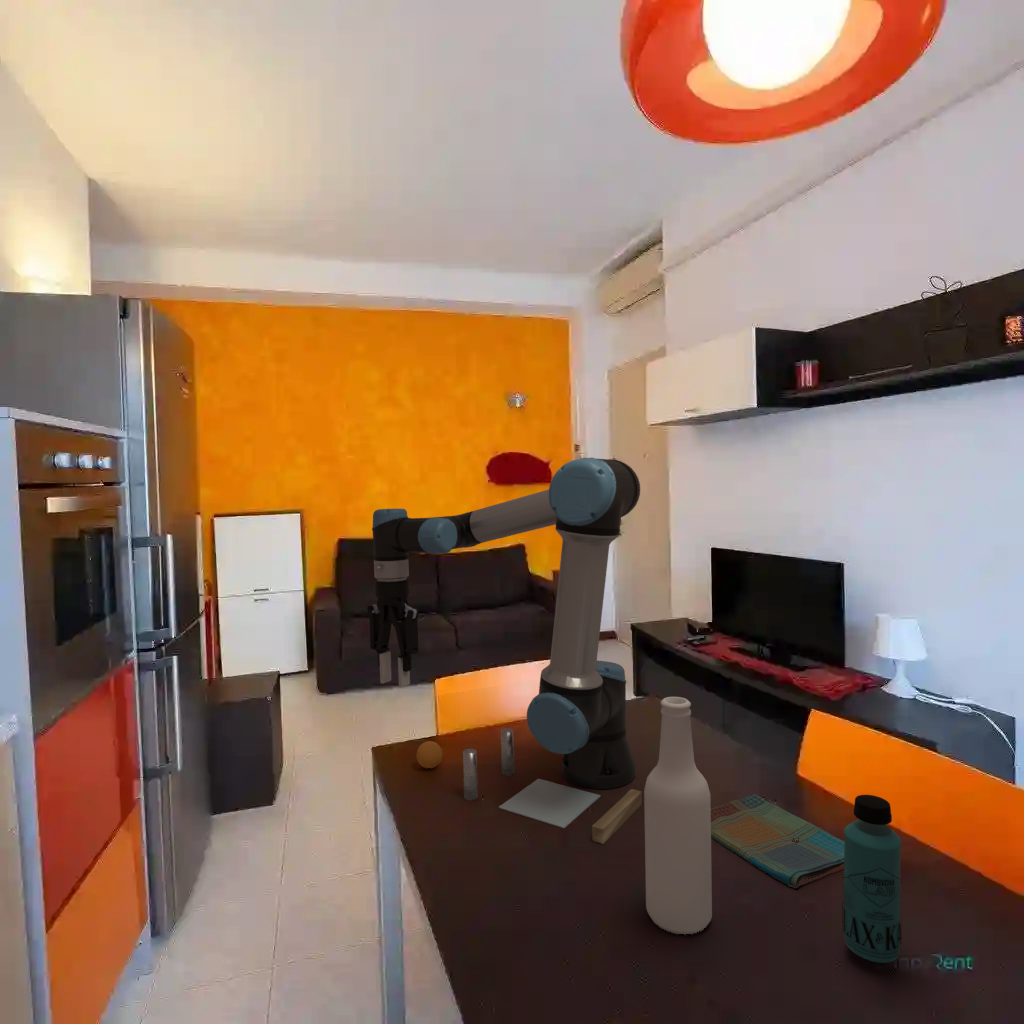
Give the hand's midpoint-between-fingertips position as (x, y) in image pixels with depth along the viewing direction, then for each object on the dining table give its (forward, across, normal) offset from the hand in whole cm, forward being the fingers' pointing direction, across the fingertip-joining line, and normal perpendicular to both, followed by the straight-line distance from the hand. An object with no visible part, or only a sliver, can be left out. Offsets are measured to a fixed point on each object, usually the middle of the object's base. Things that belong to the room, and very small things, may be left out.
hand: (395, 683), depth 147 cm
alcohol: (+17, +72, -19) cm, 76 cm away
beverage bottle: (+17, +94, -14) cm, 97 cm away
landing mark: (+17, +40, 0) cm, 43 cm away
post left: (+17, +26, -6) cm, 31 cm away
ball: (+14, +10, 0) cm, 17 cm away
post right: (+17, +26, +6) cm, 31 cm away
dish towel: (+18, +78, +8) cm, 80 cm away
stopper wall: (+17, +54, 0) cm, 56 cm away
